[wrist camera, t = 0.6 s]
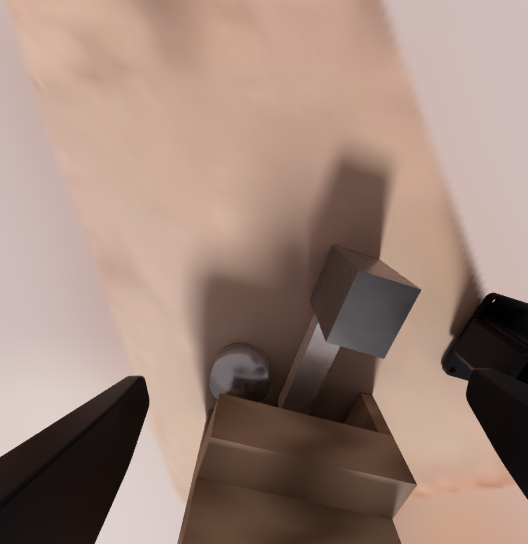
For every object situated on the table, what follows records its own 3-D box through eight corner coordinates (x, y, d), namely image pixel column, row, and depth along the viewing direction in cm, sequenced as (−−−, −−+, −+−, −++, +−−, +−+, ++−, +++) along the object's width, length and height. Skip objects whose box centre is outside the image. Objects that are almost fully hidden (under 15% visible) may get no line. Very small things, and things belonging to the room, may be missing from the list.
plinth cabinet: (372, 395, 21) (452, 555, 12) (341, 451, 23) (391, 625, 14) (226, 357, 20) (197, 503, 11) (206, 418, 22) (167, 586, 13)
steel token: (275, 350, 20) (277, 368, 18) (259, 392, 21) (258, 413, 20) (222, 335, 20) (217, 352, 18) (208, 379, 21) (202, 400, 19)
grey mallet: (379, 259, 18) (421, 289, 13) (309, 407, 22) (322, 472, 17) (332, 244, 18) (358, 270, 13) (270, 397, 21) (272, 460, 17)
